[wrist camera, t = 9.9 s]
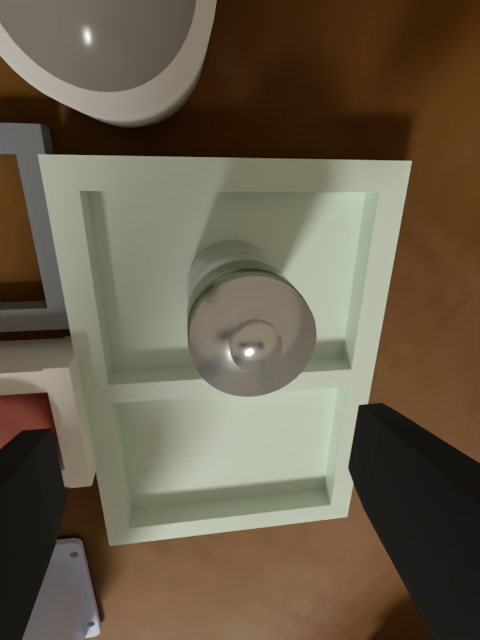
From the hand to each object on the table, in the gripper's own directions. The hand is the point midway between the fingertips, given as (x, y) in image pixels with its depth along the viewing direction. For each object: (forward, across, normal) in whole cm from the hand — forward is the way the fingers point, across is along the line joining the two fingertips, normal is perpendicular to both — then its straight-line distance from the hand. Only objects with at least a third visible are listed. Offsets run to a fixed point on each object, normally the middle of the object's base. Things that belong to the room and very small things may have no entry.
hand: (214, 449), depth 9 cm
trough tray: (+10, -2, +4) cm, 11 cm away
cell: (+9, -2, -1) cm, 9 cm away
